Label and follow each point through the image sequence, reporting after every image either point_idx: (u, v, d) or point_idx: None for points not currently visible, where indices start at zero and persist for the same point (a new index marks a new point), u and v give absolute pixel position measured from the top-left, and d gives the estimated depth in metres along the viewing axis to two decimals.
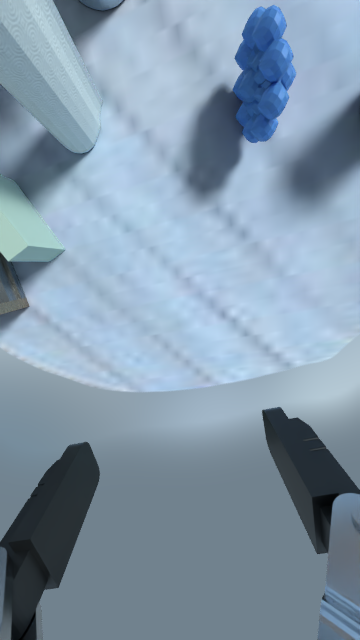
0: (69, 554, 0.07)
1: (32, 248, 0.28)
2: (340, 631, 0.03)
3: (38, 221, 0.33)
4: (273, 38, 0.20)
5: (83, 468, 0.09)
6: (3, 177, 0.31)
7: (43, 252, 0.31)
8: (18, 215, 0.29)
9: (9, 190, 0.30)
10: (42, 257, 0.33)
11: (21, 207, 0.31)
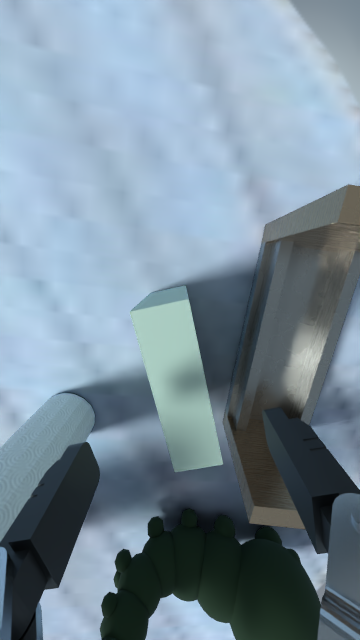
0: (69, 554, 0.07)
1: (140, 306, 0.14)
2: (340, 631, 0.03)
3: None
4: None
5: (83, 468, 0.09)
6: None
7: (157, 296, 0.17)
8: None
9: None
10: (174, 291, 0.18)
11: None
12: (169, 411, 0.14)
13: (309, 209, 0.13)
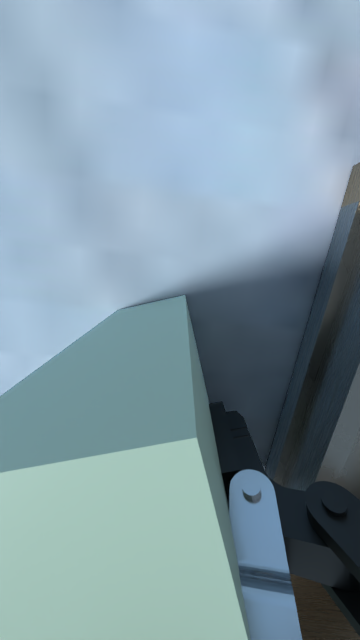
0: None
1: None
2: None
3: None
4: None
5: None
6: None
7: (110, 334, 0.06)
8: None
9: None
10: (158, 314, 0.08)
11: None
12: None
13: None
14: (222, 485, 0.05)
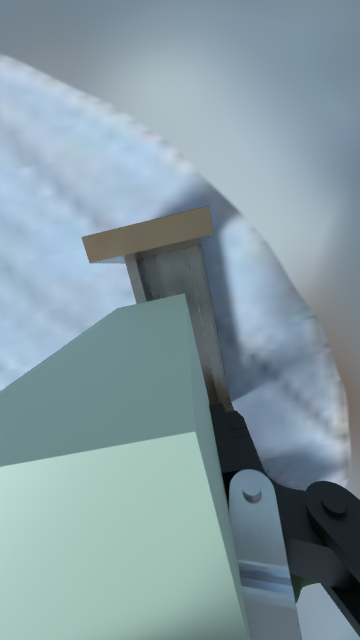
0: None
1: None
2: None
3: None
4: None
5: None
6: None
7: (109, 332, 0.06)
8: None
9: None
10: (157, 312, 0.07)
11: None
12: None
13: None
14: (222, 483, 0.05)
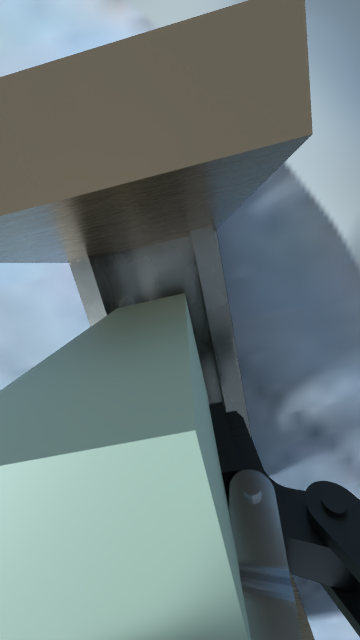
0: None
1: None
2: None
3: None
4: None
5: None
6: None
7: (109, 331, 0.06)
8: None
9: None
10: (157, 312, 0.07)
11: None
12: None
13: None
14: (222, 482, 0.05)
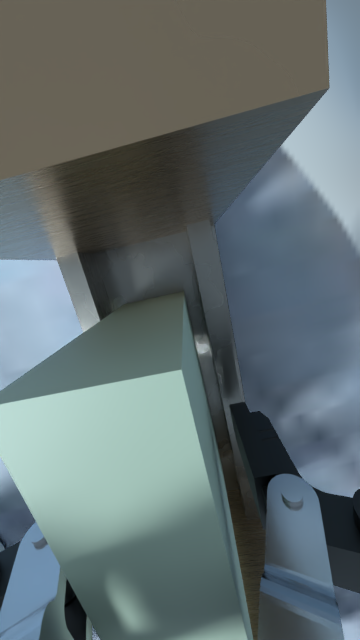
0: None
1: (44, 368, 0.05)
2: (276, 600, 0.04)
3: None
4: None
5: None
6: None
7: (119, 322, 0.08)
8: None
9: None
10: (159, 307, 0.09)
11: None
12: None
13: None
14: (210, 442, 0.07)
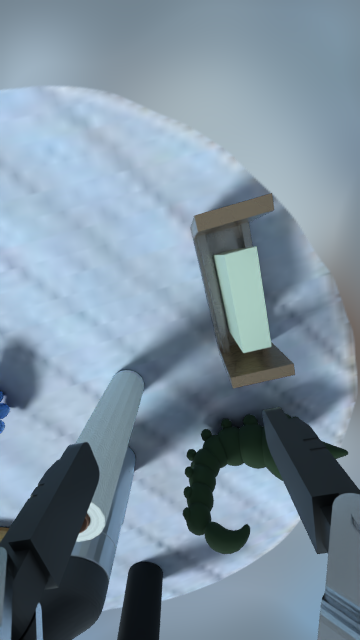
0: (69, 554, 0.07)
1: (225, 254, 0.24)
2: (340, 631, 0.03)
3: (221, 288, 0.31)
4: None
5: (84, 468, 0.09)
6: (231, 332, 0.33)
7: (226, 252, 0.27)
8: (227, 293, 0.27)
9: (229, 320, 0.31)
10: (234, 250, 0.28)
11: (226, 303, 0.30)
12: (242, 314, 0.25)
13: (193, 223, 0.25)
14: None
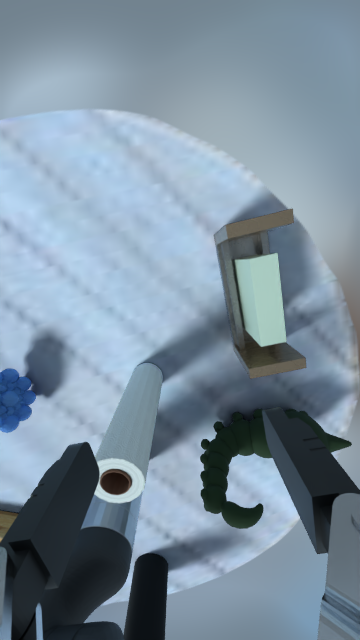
0: (69, 554, 0.07)
1: (249, 258, 0.28)
2: (340, 631, 0.03)
3: (240, 289, 0.35)
4: None
5: (84, 468, 0.09)
6: (247, 329, 0.36)
7: (248, 257, 0.31)
8: (247, 293, 0.31)
9: (247, 318, 0.34)
10: None
11: (245, 302, 0.34)
12: (262, 311, 0.29)
13: (221, 231, 0.29)
14: None
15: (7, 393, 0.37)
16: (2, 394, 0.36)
